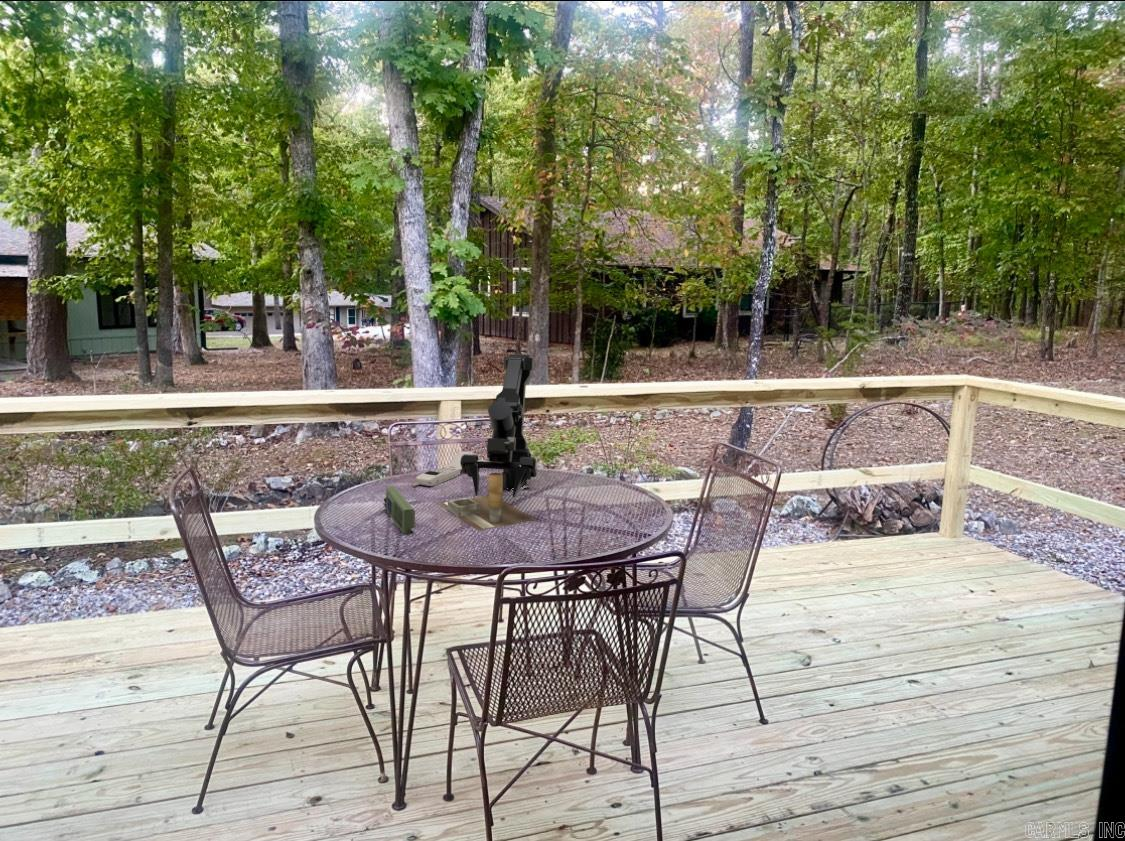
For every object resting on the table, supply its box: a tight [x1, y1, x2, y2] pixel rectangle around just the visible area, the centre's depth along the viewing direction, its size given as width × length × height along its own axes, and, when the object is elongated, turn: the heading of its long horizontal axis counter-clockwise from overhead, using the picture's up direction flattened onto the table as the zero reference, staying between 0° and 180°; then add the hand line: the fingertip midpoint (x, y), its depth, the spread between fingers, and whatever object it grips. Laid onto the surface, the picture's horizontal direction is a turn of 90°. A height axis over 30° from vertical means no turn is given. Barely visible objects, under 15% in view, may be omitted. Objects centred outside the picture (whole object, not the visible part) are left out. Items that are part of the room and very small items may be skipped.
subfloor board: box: [438, 494, 536, 532], centre depth 188 cm, size 16×23×4 cm
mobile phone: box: [411, 450, 475, 488], centre depth 221 cm, size 6×6×25 cm
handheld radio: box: [383, 484, 416, 536], centre depth 185 cm, size 7×3×25 cm
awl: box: [488, 472, 504, 524], centre depth 180 cm, size 3×3×12 cm
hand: (494, 495), depth 179 cm, fingers open, 9 cm apart
